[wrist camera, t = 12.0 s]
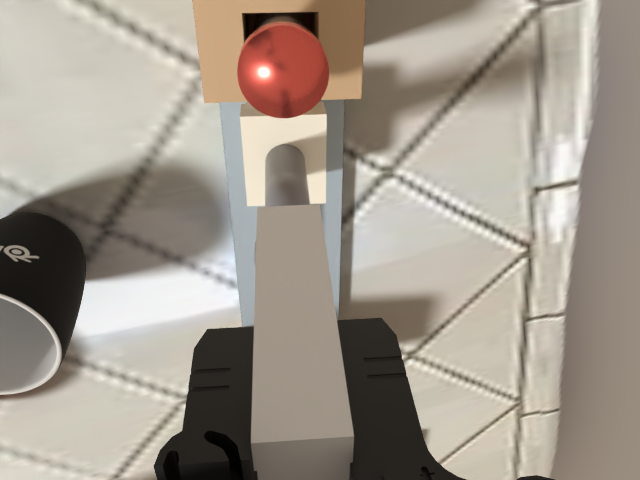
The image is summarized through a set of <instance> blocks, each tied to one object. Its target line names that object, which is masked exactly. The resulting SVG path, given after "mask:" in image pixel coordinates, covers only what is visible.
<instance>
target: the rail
mask: <svg viewBox="0 0 640 480" xmlns="http://www.w3.org/2000/svg"><path fill="white" fill-rule="evenodd" d="M192 2H193V10H194V18H195V27H196V35H197V44H198V52H199V61H200V69H201V78H202V86H203V95H204V103H219V106H220V116H221V125H222V135H223V145H224V155H225V164H226V174H227V184H228V194H229V203H230V213H231V223H232V232H233V242H234V252H235V262H236V271H237V281H238V291H239V301H240V310H241V320H242V327H254V306H255V264H254V246H255V242H256V230H257V207H265V206H247V198H246V186H245V173H244V161H243V149H242V137H241V125H240V110H241V104H246V102H248V101H247V100H246V99H245V97H244V95H243V94H242V92H241V89H240V87H239V83H238V77H237V68H238V60H239V55H240V51H241V49H242V46H243V44H244V43H245V41H246V40H247V38H248V37H249V36H250V35H251V34H252V33H253V32H254V24H255V15H256V13H280V12H302V13H303V16H304V20H305V25H306V29H308V30H309V31H310V32H312V33H313V34H314V35H315V36H316V37H317V39H318V40H319V41H320V43H321V44H322V46H323V49H324V51H325V54H326V57H327V61H328V66H329V81H328V86H327V89H326V91H325V93H324V95H323V97H322V98H321V100H320V101H319V102H324V105H325V109H326V113H327V136H326V203H322V204H320V210H321V217H322V223H323V230H324V237H325V243H326V250H327V257H328V264H329V271H330V277H331V284H332V291H333V298H334V304H335V311H336V318H337V320H339V284H340V248H341V212H342V175H343V139H344V103H345V99H361V93H362V71H363V48H364V26H365V4H366V0H192ZM310 205H313V204H310Z"/></svg>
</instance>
